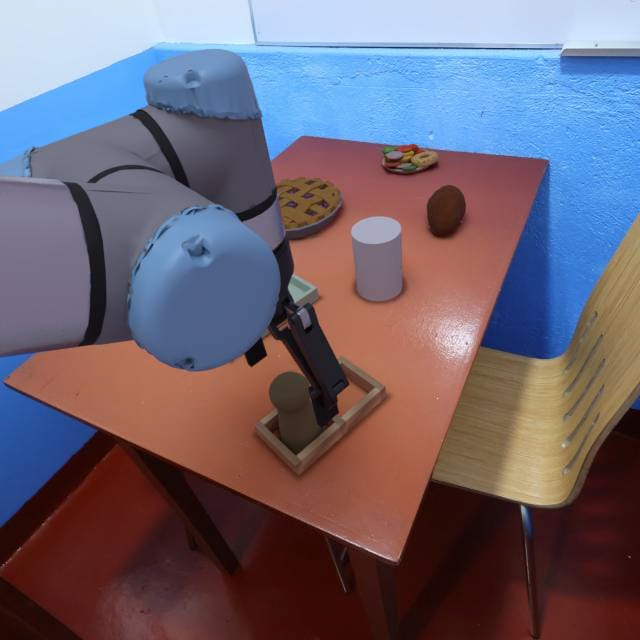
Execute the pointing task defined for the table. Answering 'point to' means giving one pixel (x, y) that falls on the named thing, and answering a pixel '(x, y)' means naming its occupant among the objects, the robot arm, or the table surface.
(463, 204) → the potato
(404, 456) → the table surface
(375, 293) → the cup
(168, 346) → the robot arm
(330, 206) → the pie
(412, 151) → the toy food set
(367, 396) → the two-slot wooden frame
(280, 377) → the brown pawn
